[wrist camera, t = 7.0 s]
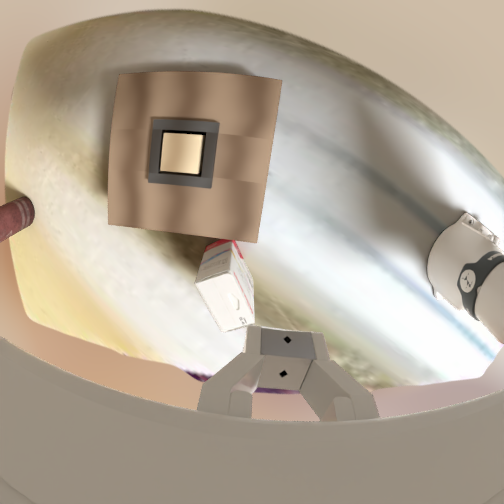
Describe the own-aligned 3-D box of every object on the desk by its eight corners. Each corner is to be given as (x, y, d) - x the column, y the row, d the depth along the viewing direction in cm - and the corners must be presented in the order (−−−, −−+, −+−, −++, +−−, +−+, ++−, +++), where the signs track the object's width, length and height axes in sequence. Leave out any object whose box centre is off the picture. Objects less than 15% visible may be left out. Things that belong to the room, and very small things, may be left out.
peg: (213, 136, 35) (201, 135, 27) (209, 166, 37) (197, 173, 29) (183, 134, 35) (163, 132, 27) (180, 163, 37) (160, 170, 29)
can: (39, 208, 39) (-10, 233, 26) (30, 230, 41) (-15, 258, 28) (24, 189, 38) (-25, 209, 25) (15, 212, 39) (-30, 235, 26)
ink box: (205, 244, 42) (189, 281, 31) (235, 233, 42) (228, 268, 31) (227, 289, 46) (220, 335, 35) (255, 280, 45) (256, 324, 34)
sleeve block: (276, 92, 33) (283, 78, 25) (256, 223, 41) (256, 246, 33) (142, 84, 32) (115, 73, 24) (131, 209, 40) (104, 226, 32)
